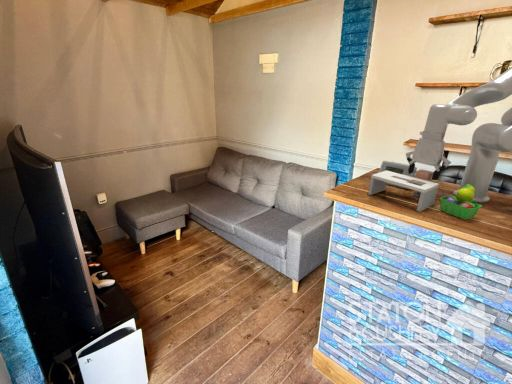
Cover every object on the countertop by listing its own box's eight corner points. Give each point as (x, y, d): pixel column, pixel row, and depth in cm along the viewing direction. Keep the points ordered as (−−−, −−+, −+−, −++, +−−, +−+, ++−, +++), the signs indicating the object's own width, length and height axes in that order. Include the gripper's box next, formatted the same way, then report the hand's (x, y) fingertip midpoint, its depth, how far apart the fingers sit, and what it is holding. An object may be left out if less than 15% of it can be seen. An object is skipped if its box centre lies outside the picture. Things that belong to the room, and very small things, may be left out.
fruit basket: (435, 209, 107) (442, 182, 102) (449, 206, 110) (457, 179, 106) (466, 222, 97) (475, 192, 93) (480, 217, 100) (491, 189, 96)
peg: (415, 192, 123) (421, 169, 119) (427, 196, 119) (433, 172, 115) (410, 195, 120) (416, 171, 116) (422, 198, 117) (428, 174, 112)
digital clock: (374, 181, 137) (377, 161, 133) (385, 178, 142) (388, 158, 138) (404, 191, 125) (409, 169, 121) (415, 188, 129) (421, 166, 125)
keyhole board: (382, 188, 127) (386, 170, 124) (433, 204, 111) (439, 183, 108) (368, 194, 121) (371, 174, 118) (419, 211, 104) (425, 189, 101)
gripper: (407, 133, 114) (397, 172, 121) (453, 140, 102) (440, 183, 108) (415, 132, 119) (406, 169, 125) (461, 139, 106) (447, 180, 112)
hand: (421, 176), depth 116 cm, fingers open, 9 cm apart
